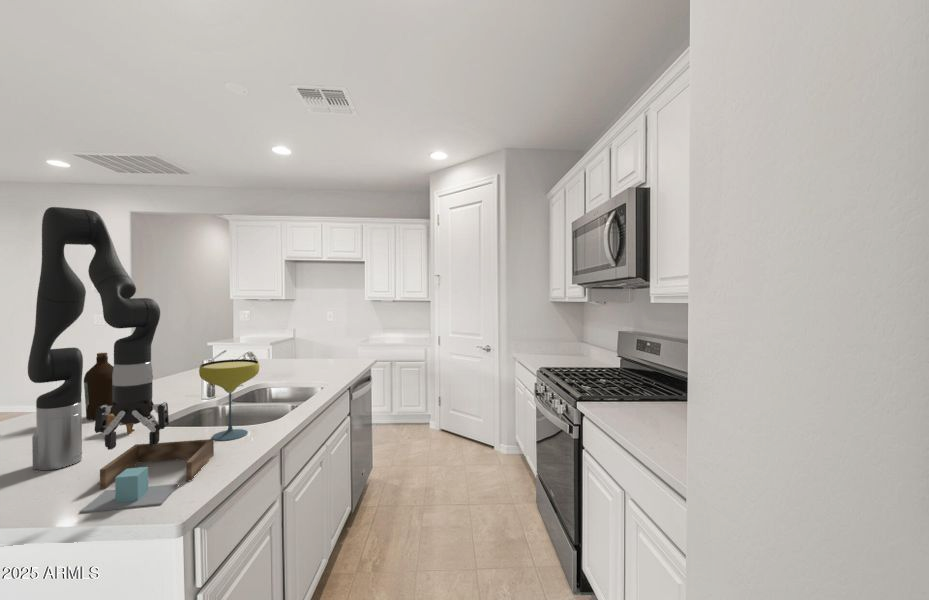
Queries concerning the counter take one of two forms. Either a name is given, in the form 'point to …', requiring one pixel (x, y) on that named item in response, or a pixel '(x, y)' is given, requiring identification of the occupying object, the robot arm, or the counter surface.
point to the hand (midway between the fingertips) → (132, 447)
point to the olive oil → (98, 386)
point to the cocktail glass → (229, 385)
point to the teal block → (131, 484)
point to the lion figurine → (128, 426)
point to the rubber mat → (150, 498)
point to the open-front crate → (160, 457)
